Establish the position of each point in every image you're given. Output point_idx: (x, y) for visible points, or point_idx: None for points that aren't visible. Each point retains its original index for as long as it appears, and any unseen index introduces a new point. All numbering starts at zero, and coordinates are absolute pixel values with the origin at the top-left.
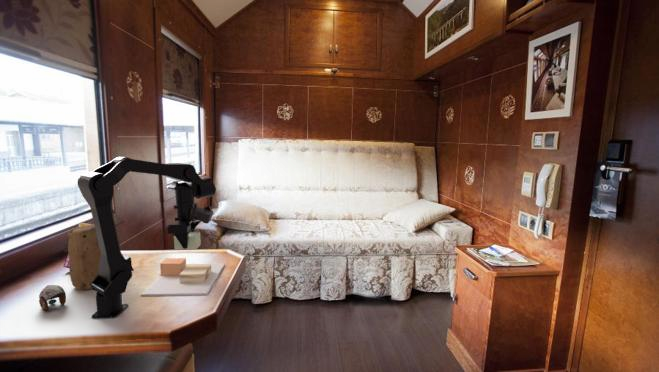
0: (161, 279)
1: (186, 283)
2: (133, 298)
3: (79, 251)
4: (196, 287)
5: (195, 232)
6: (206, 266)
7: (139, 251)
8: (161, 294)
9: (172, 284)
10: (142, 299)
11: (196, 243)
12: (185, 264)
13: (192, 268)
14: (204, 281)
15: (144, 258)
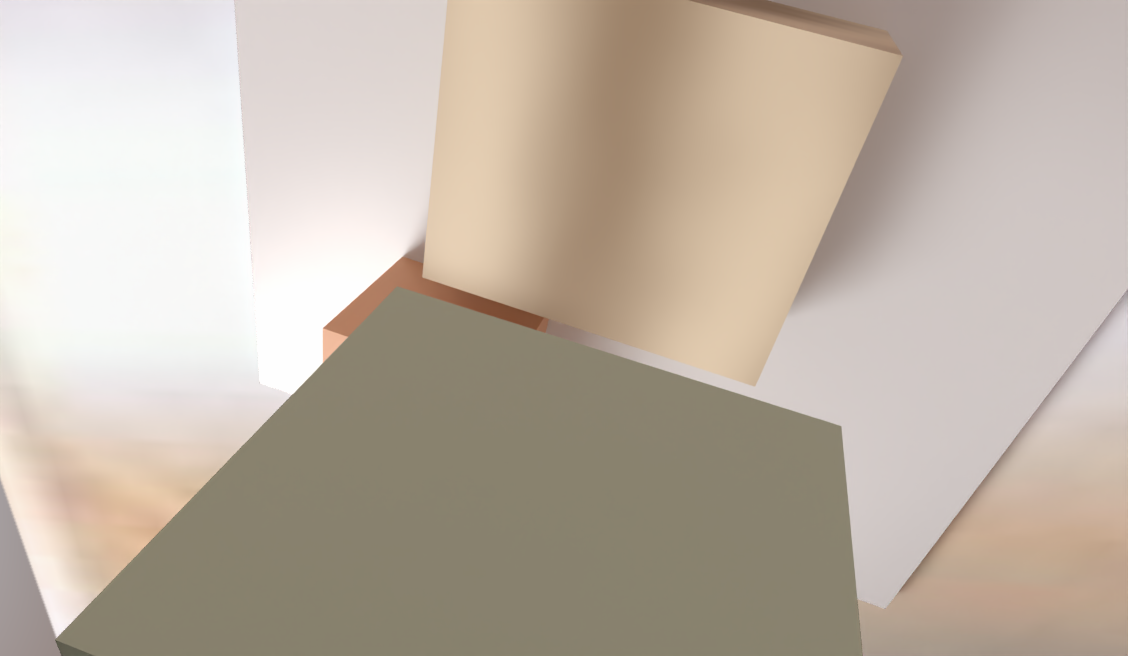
0: None
1: None
2: (902, 632)
3: None
4: (1011, 138)
5: None
6: (551, 20)
7: (33, 541)
8: (979, 480)
9: (771, 389)
10: (965, 590)
11: (800, 552)
12: (384, 297)
13: (586, 231)
14: (869, 27)
15: (142, 525)
